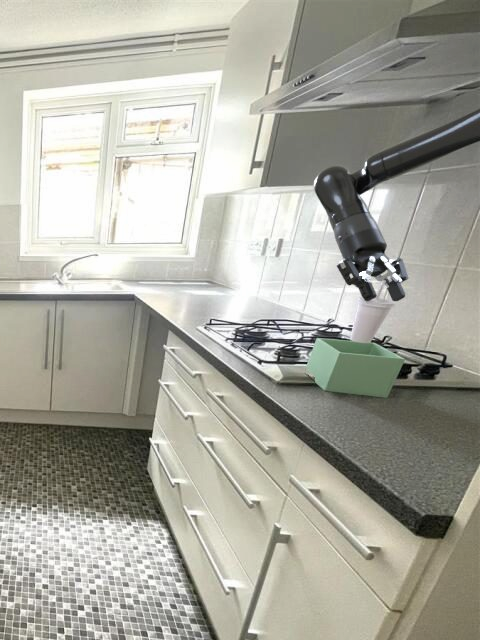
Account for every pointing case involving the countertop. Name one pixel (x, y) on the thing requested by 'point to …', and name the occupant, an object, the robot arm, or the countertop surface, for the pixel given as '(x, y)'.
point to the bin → (354, 367)
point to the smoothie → (370, 317)
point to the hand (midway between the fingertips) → (385, 299)
